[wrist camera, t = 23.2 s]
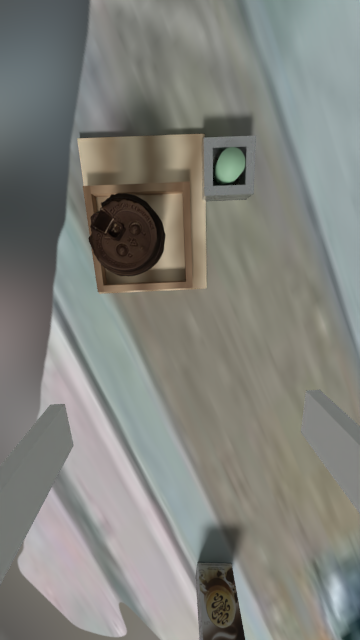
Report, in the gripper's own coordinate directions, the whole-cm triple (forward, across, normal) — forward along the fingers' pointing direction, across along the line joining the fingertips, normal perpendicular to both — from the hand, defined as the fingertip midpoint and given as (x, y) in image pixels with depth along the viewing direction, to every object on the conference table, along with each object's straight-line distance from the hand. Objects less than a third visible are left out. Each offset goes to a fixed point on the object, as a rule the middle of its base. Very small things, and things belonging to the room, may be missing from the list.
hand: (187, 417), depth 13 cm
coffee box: (+29, -6, +71) cm, 77 cm away
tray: (+29, +4, -14) cm, 32 cm away
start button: (+27, -8, -20) cm, 35 cm away
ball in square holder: (+29, -8, -20) cm, 36 cm away
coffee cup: (+28, +5, -11) cm, 30 cm away
